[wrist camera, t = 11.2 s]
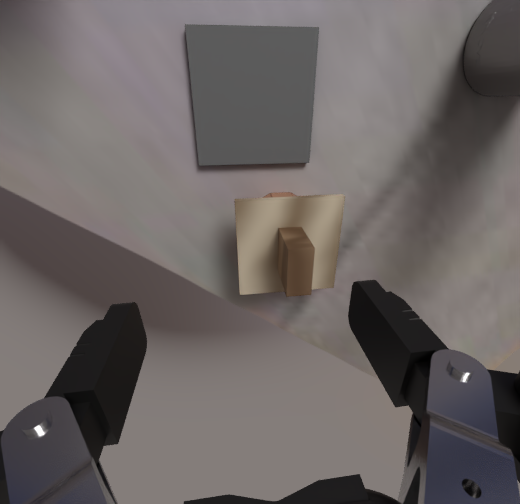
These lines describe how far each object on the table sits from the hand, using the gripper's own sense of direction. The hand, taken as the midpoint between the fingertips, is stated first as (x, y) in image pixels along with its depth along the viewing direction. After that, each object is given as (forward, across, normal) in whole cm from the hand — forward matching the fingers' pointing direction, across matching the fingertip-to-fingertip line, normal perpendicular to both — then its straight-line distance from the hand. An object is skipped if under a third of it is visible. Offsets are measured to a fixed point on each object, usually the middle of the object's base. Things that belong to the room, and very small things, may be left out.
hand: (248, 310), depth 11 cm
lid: (+19, -6, +7) cm, 21 cm away
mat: (+24, -3, -7) cm, 25 cm away
